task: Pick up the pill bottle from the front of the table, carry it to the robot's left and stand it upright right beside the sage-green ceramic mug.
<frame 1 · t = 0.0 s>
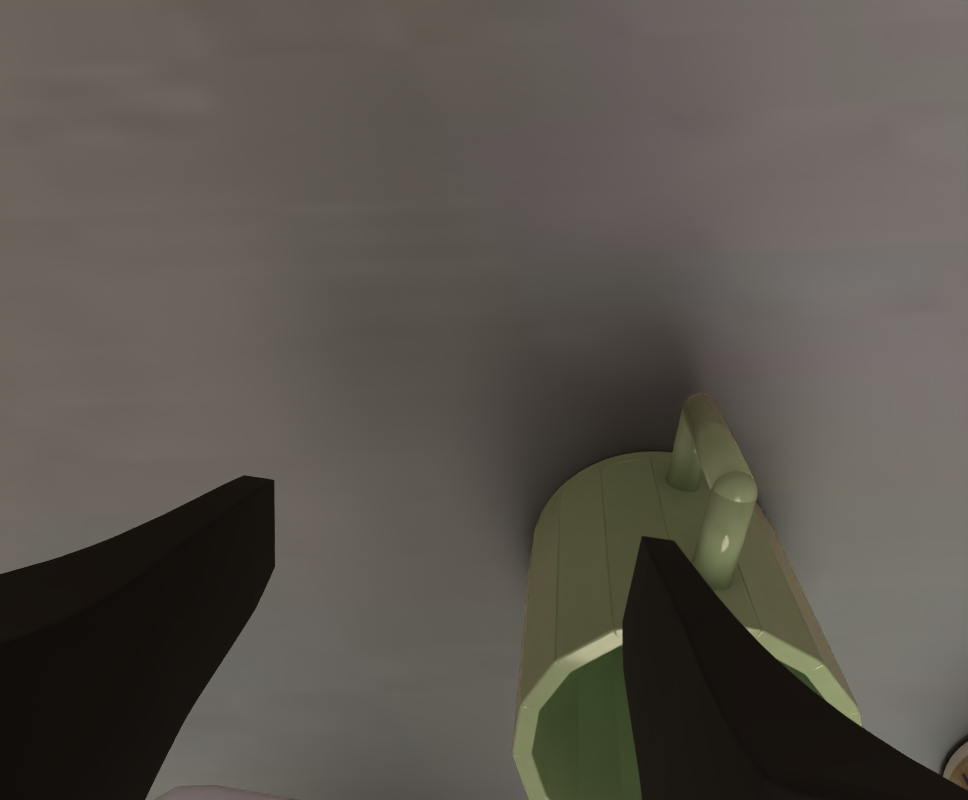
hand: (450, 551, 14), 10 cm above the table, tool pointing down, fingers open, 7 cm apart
mug: (648, 555, 25), on the table
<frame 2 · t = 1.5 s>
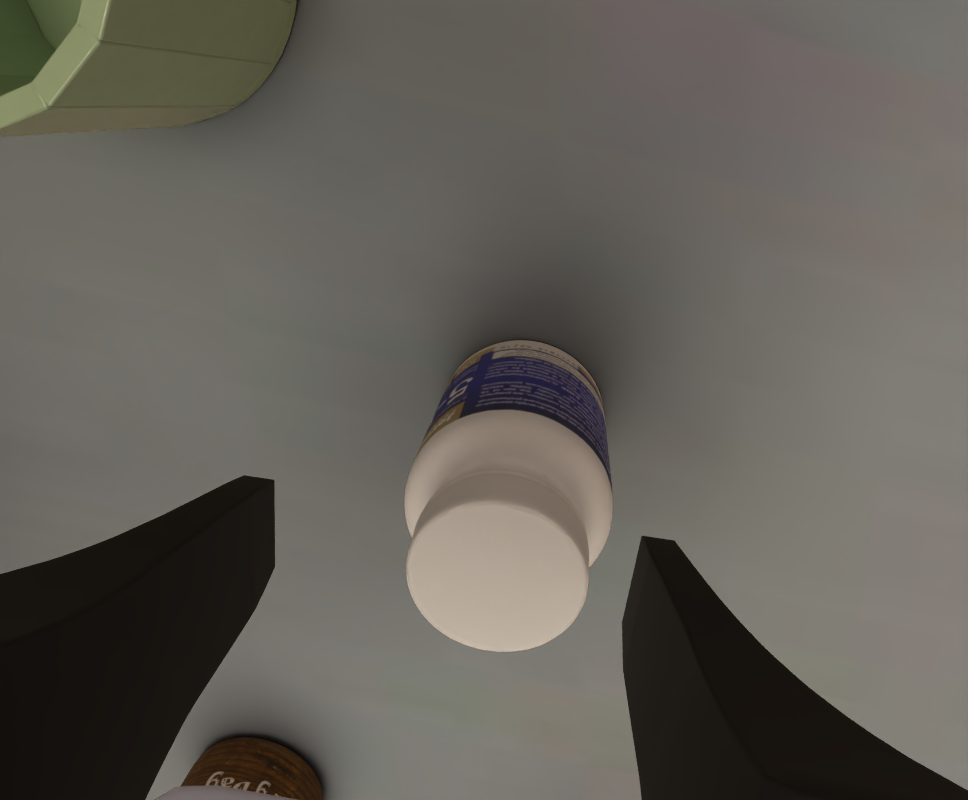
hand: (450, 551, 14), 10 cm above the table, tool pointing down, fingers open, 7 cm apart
pill bottle: (522, 412, 24), on the table
utensil holder: (260, 777, 32), on the table
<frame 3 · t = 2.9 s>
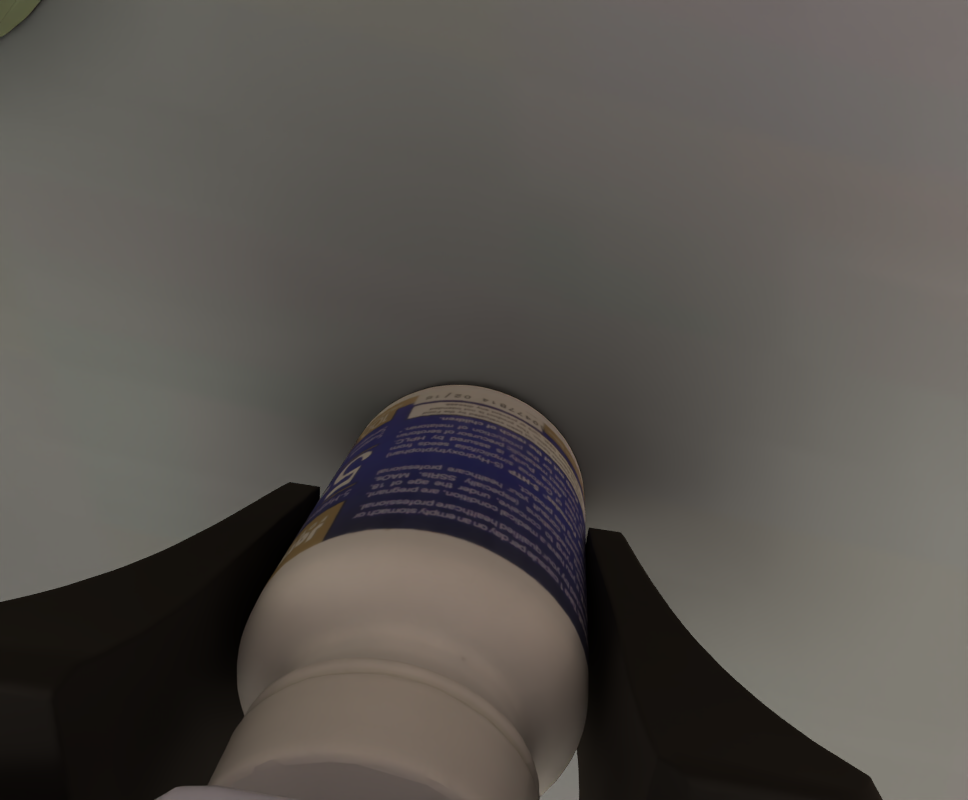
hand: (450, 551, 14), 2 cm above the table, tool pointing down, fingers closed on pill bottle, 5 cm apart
pill bottle: (466, 485, 16), on the table, touching gripper
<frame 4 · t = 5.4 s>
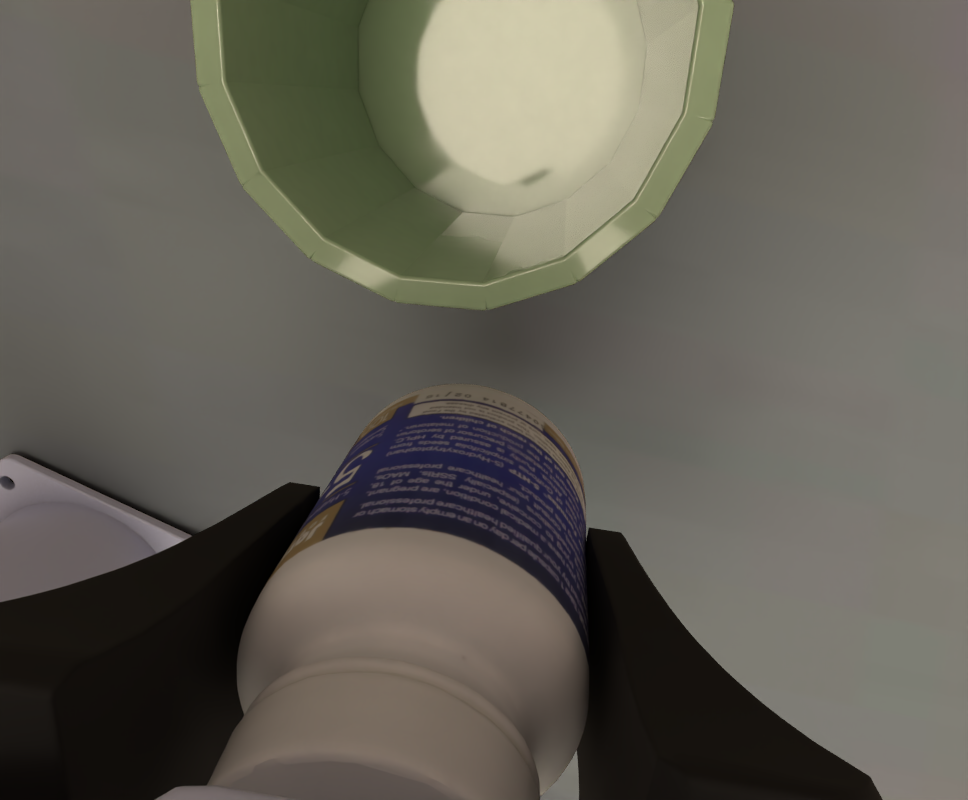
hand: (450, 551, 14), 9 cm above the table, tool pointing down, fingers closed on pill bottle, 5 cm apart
mug: (500, 69, 19), on the table
pill bottle: (466, 484, 16), point 6 cm above the table, touching gripper
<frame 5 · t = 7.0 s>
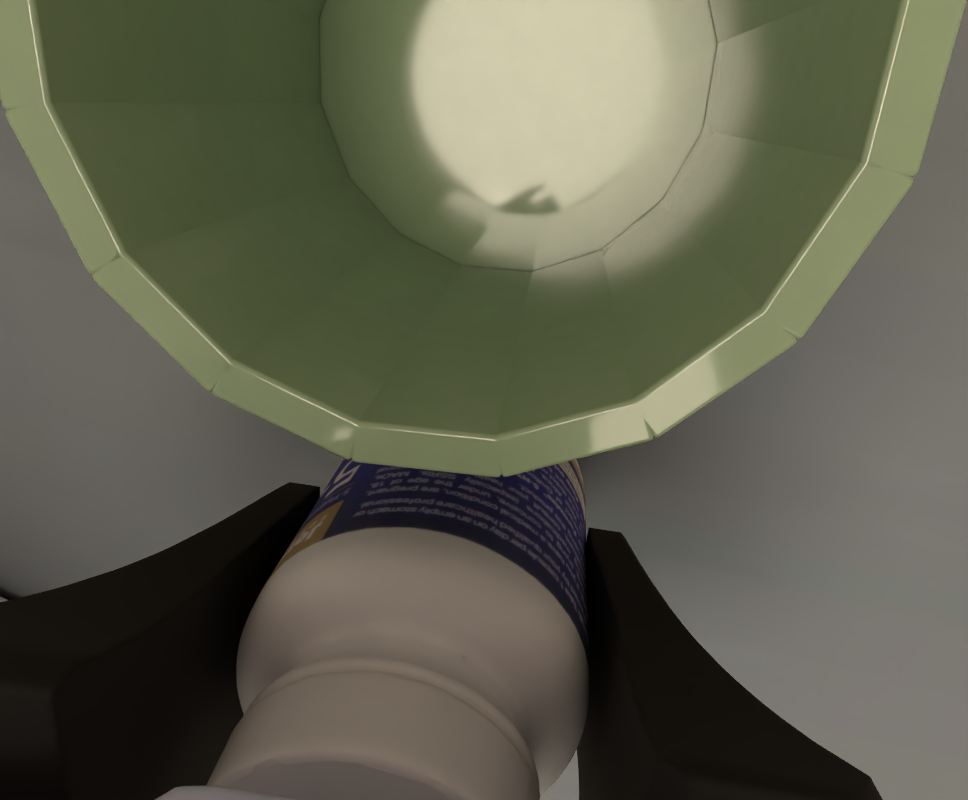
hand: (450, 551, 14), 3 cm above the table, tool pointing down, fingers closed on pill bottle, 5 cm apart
mug: (513, 75, 14), on the table
pill bottle: (466, 484, 16), point 1 cm above the table, touching gripper
when the fingers open (2 cm above the table, at t = 7.9 s): pill bottle stays where it is, on the table.
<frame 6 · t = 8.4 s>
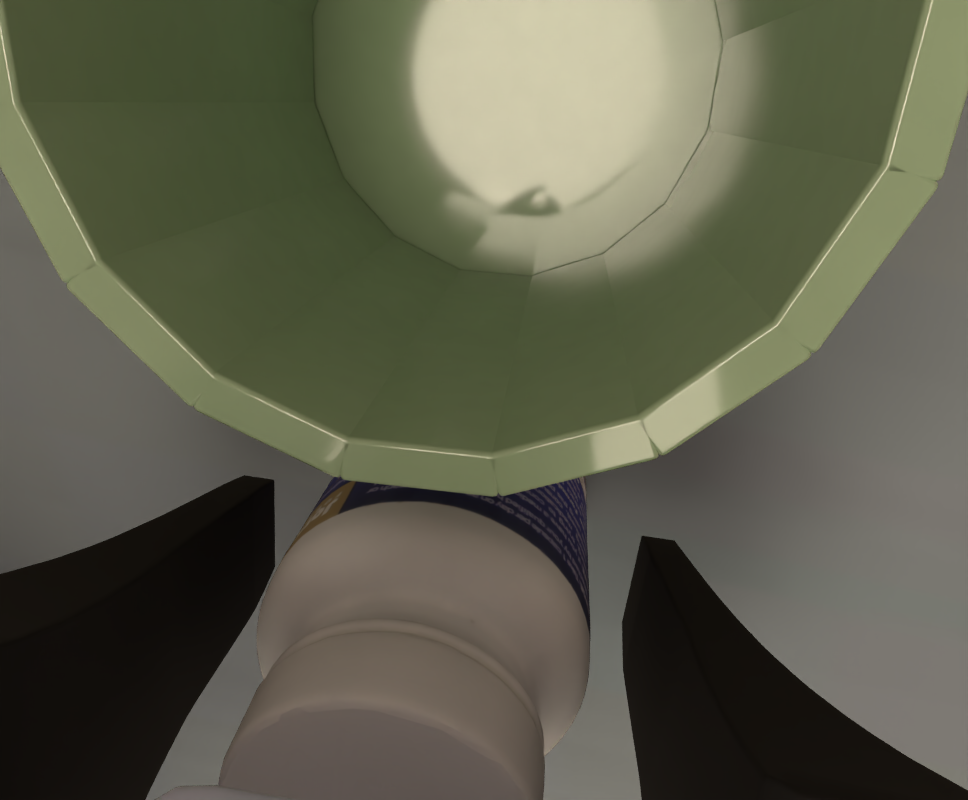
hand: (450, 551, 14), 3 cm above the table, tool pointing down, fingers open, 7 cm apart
mug: (512, 74, 13), on the table
pill bottle: (471, 469, 17), on the table
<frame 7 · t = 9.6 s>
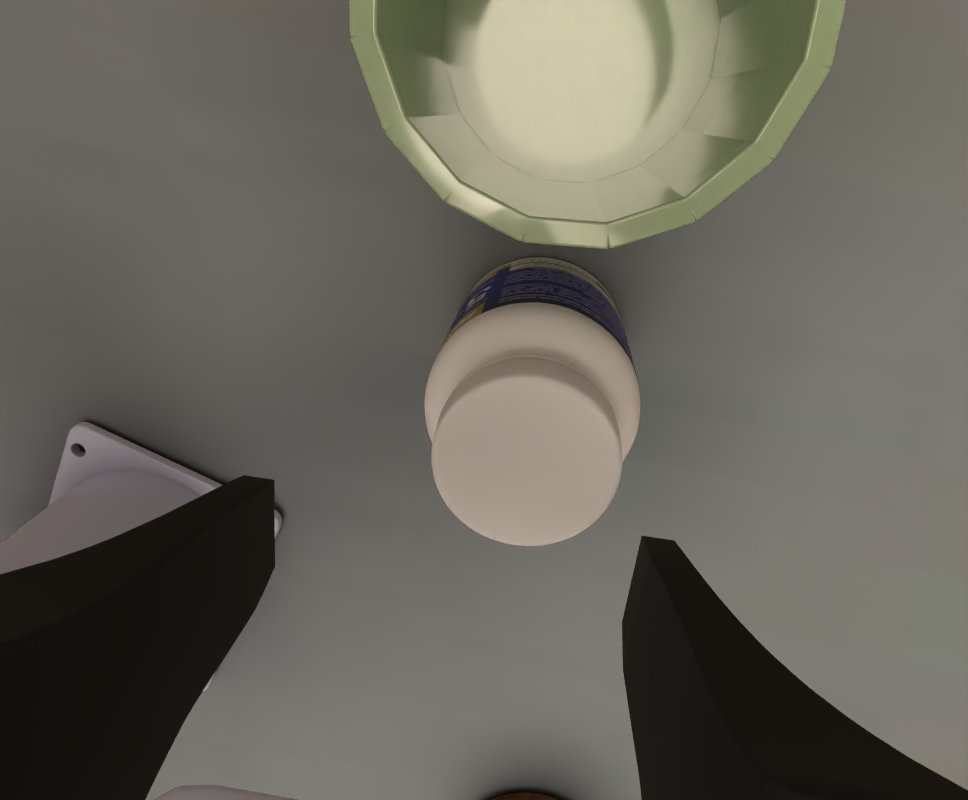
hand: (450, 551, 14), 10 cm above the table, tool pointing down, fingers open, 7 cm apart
mug: (577, 42, 20), on the table
pill bottle: (537, 336, 23), on the table
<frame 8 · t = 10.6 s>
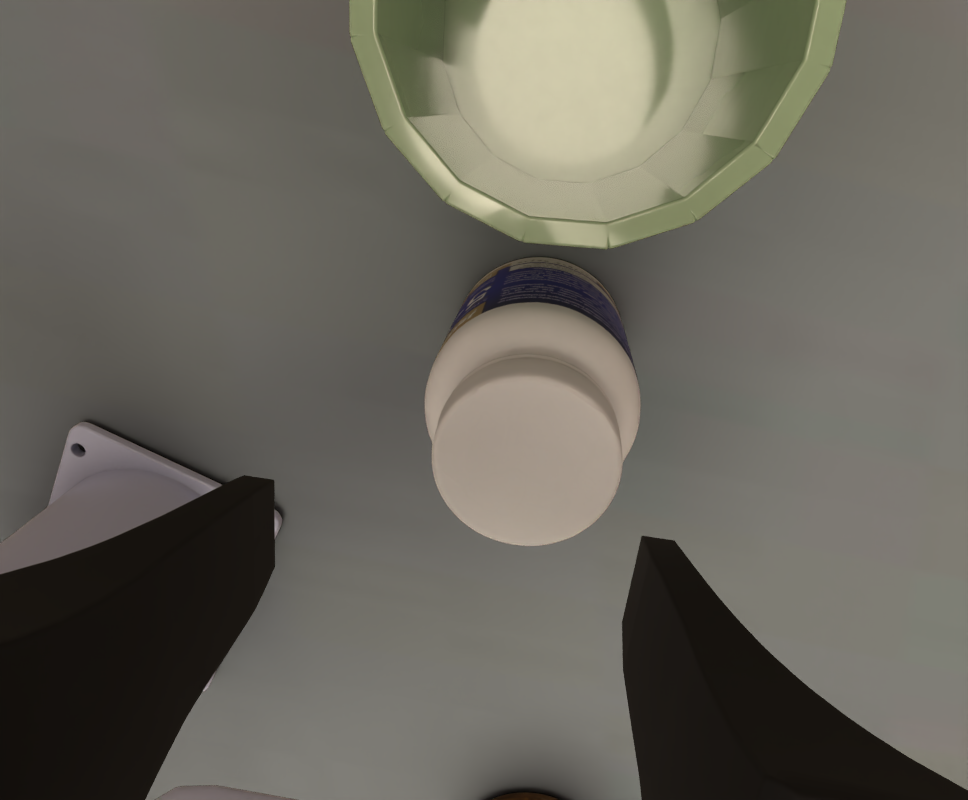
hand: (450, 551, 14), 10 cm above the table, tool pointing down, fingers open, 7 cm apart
mug: (577, 42, 20), on the table
pill bottle: (537, 336, 23), on the table
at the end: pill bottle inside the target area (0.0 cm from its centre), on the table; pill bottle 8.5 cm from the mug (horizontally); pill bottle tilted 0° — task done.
